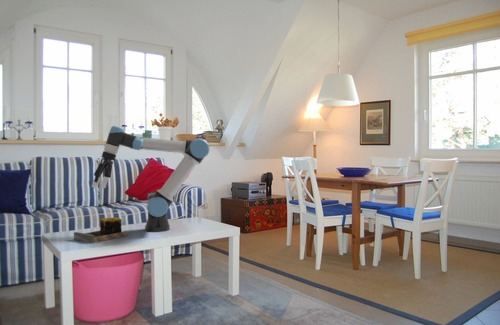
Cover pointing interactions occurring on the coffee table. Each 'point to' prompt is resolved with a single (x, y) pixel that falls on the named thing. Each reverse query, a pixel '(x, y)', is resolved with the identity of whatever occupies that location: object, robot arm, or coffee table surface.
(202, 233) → the coffee table surface
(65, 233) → the coffee table surface
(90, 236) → the bay
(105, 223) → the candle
